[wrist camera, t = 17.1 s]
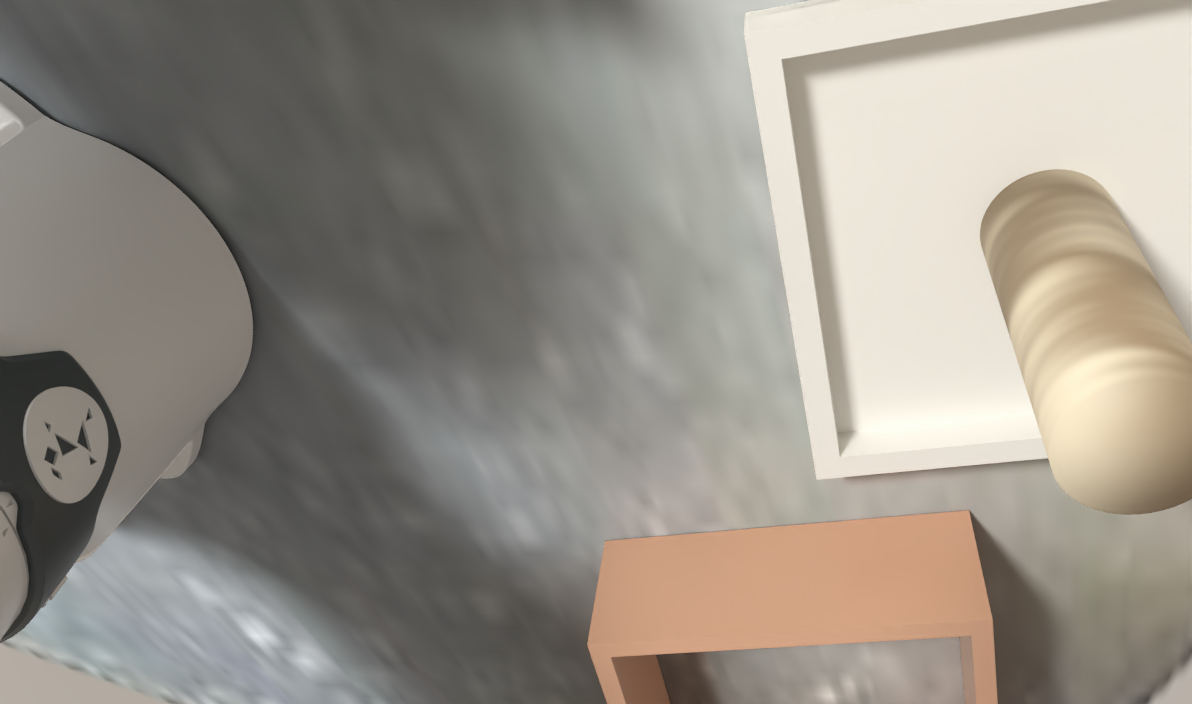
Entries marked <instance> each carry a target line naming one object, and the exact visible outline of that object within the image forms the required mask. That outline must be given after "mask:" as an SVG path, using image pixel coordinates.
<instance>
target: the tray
mask: <svg viewBox="0 0 1192 704" xmlns="http://www.w3.org/2000/svg"><path fill="white" fill-rule="evenodd" d="M744 37H745V43H746V49H747V55H748V61H749V68H750V74H751V80H752V86H753V92H754V98H755V104H756V110H757V117H758V123H759V129H760V135H761V141H762V147H763V153H764V159H765V166H766V172H767V178H768V184H769V190H770V196H771V202H772V209H773V215H774V221H775V227H776V233H777V239H778V245H779V251H780V258H781V264H782V270H783V276H784V282H785V288H786V294H787V300H788V307H789V313H790V319H791V325H792V331H793V337H794V343H795V349H796V356H797V362H798V368H799V374H800V380H801V386H802V392H803V398H804V405H805V411H806V417H807V423H808V429H809V435H810V441H811V447H812V454H813V460H814V466H815V472H816V478H817V480H818V479H829V478H839V477H850V476H861V475H872V474H883V473H893V472H904V471H915V470H926V469H936V468H947V467H958V466H969V465H980V464H990V463H1001V462H1012V461H1023V460H1034V459H1044V458H1048V456H1047V453H1046V450H1045V447H1044V443H1043V440H1042V437H1041V434H1040V431H1039V428H1038V424H1037V421H1036V418H1035V415H1034V412H1033V409H1032V405H1031V402H1030V399H1029V396H1028V393H1027V390H1026V386H1025V383H1024V380H1023V377H1022V374H1021V371H1020V367H1019V364H1018V361H1017V358H1016V355H1015V352H1014V348H1013V345H1012V342H1011V339H1010V336H1009V333H1008V329H1007V326H1006V323H1005V320H1004V317H1003V314H1002V310H1001V307H1000V304H999V301H998V298H997V295H996V291H995V288H994V285H993V282H992V279H991V276H990V272H989V269H988V266H987V263H986V260H985V257H984V253H983V250H982V247H981V242H980V228H981V222H982V219H983V216H984V214H985V212H986V210H987V208H988V206H989V205H990V203H991V202H992V201H993V199H994V198H995V197H996V196H997V195H998V194H999V193H1000V192H1001V191H1002V190H1003V189H1004V188H1006V187H1007V186H1008V185H1010V184H1011V183H1013V182H1014V181H1016V180H1018V179H1020V178H1022V177H1024V176H1027V175H1029V174H1032V173H1035V172H1039V171H1044V170H1053V169H1063V170H1071V171H1076V172H1079V173H1082V174H1085V175H1087V176H1089V177H1091V178H1093V179H1094V180H1096V181H1097V182H1099V183H1100V184H1101V185H1102V186H1103V187H1104V188H1105V189H1106V190H1107V192H1108V193H1109V195H1110V196H1111V198H1112V200H1113V202H1114V204H1115V205H1116V207H1117V209H1118V211H1119V213H1120V214H1121V216H1122V218H1123V220H1124V222H1125V223H1126V225H1127V227H1128V229H1129V231H1130V232H1131V234H1132V236H1133V238H1134V240H1135V242H1136V243H1137V245H1138V247H1139V249H1140V251H1141V252H1142V254H1143V256H1144V258H1145V260H1146V261H1147V263H1148V265H1149V267H1150V269H1151V270H1152V272H1153V274H1154V276H1155V278H1156V280H1157V281H1158V283H1159V285H1160V287H1161V289H1162V290H1163V292H1164V294H1165V296H1166V298H1167V299H1168V301H1169V303H1170V305H1171V307H1172V308H1173V310H1174V312H1175V314H1176V316H1177V317H1178V319H1179V321H1180V323H1181V325H1182V327H1183V328H1184V330H1185V332H1186V334H1187V336H1188V337H1189V339H1190V341H1191V343H1192V0H810V1H804V2H799V3H794V4H789V5H783V6H778V7H773V8H768V9H762V10H757V11H752V12H747V13H745V26H744Z"/></svg>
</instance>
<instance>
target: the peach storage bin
mask: <svg viewBox="0 0 1192 704" xmlns="http://www.w3.org/2000/svg"><path fill="white" fill-rule="evenodd" d="M944 637H959V638H960V650H961V662H962V674H963V686H964V698H965V704H998V700H997V683H996V667H995V650H994V633H993V619H992V614H991V610H990V605H989V600H988V596H987V591H986V587H985V582H984V577H983V573H982V568H981V563H980V559H979V554H978V550H977V545H976V540H975V536H974V531H973V526H972V522H971V517H970V513H969V510H968V511H956V512H944V513H932V514H920V515H908V516H896V517H884V518H872V519H860V520H848V521H836V522H824V523H812V524H801V525H789V526H777V527H765V528H753V529H741V530H729V531H717V532H705V533H693V534H681V535H669V536H657V537H646V538H634V539H622V540H610V541H605V543H604V549H603V555H602V561H601V567H600V573H599V578H598V584H597V590H596V596H595V602H594V608H593V614H592V619H591V625H590V631H589V637H588V643H587V646H588V649H589V652H590V655H591V658H592V661H593V664H594V667H595V670H596V672H597V675H598V678H599V681H600V684H601V687H602V690H603V693H604V696H605V699H606V702H607V704H671V703H670V700H669V696H668V693H667V690H666V686H665V683H664V679H663V676H662V673H661V669H660V666H659V662H658V659H657V656H656V654H673V653H690V652H707V651H724V650H741V649H758V648H775V647H792V646H809V645H826V644H843V643H859V642H876V641H893V640H910V639H927V638H944Z"/></svg>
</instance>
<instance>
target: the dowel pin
mask: <svg viewBox="0 0 1192 704" xmlns="http://www.w3.org/2000/svg"><path fill="white" fill-rule="evenodd" d="M980 242H981V247H982V250H983V253H984V257H985V260H986V263H987V266H988V269H989V272H990V276H991V279H992V282H993V285H994V288H995V291H996V295H997V298H998V301H999V304H1000V307H1001V310H1002V314H1003V317H1004V320H1005V323H1006V326H1007V329H1008V333H1009V336H1010V339H1011V342H1012V345H1013V348H1014V352H1015V355H1016V358H1017V361H1018V364H1019V367H1020V371H1021V374H1022V377H1023V380H1024V383H1025V386H1026V390H1027V393H1028V396H1029V399H1030V402H1031V405H1032V409H1033V412H1034V415H1035V418H1036V421H1037V424H1038V428H1039V431H1040V434H1041V437H1042V440H1043V443H1044V447H1045V450H1046V453H1047V456H1048V459H1049V462H1050V466H1051V469H1052V472H1053V475H1054V477H1055V479H1056V481H1057V483H1058V484H1059V485H1060V487H1061V488H1062V489H1063V490H1064V491H1065V492H1066V493H1067V494H1068V495H1069V496H1070V497H1072V498H1073V499H1075V500H1076V501H1078V502H1079V503H1081V504H1083V505H1085V506H1087V507H1090V508H1093V509H1095V510H1099V511H1103V512H1107V513H1114V514H1127V515H1129V514H1145V513H1152V512H1157V511H1161V510H1165V509H1168V508H1171V507H1175V506H1177V505H1179V504H1182V503H1184V502H1186V501H1188V500H1190V499H1192V343H1191V341H1190V339H1189V337H1188V336H1187V334H1186V332H1185V330H1184V328H1183V327H1182V325H1181V323H1180V321H1179V319H1178V317H1177V316H1176V314H1175V312H1174V310H1173V308H1172V307H1171V305H1170V303H1169V301H1168V299H1167V298H1166V296H1165V294H1164V292H1163V290H1162V289H1161V287H1160V285H1159V283H1158V281H1157V280H1156V278H1155V276H1154V274H1153V272H1152V270H1151V269H1150V267H1149V265H1148V263H1147V261H1146V260H1145V258H1144V256H1143V254H1142V252H1141V251H1140V249H1139V247H1138V245H1137V243H1136V242H1135V240H1134V238H1133V236H1132V234H1131V232H1130V231H1129V229H1128V227H1127V225H1126V223H1125V222H1124V220H1123V218H1122V216H1121V214H1120V213H1119V211H1118V209H1117V207H1116V205H1115V204H1114V202H1113V200H1112V198H1111V196H1110V195H1109V193H1108V192H1107V190H1106V189H1105V188H1104V187H1103V186H1102V185H1101V184H1100V183H1099V182H1097V181H1096V180H1094V179H1093V178H1091V177H1089V176H1087V175H1085V174H1082V173H1079V172H1076V171H1071V170H1063V169H1053V170H1044V171H1039V172H1035V173H1032V174H1029V175H1027V176H1024V177H1022V178H1020V179H1018V180H1016V181H1014V182H1013V183H1011V184H1010V185H1008V186H1007V187H1006V188H1004V189H1003V190H1002V191H1001V192H1000V193H999V194H998V195H997V196H996V197H995V198H994V199H993V201H992V202H991V203H990V205H989V206H988V208H987V210H986V212H985V214H984V216H983V219H982V222H981V228H980Z"/></svg>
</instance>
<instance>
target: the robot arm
mask: <svg viewBox="0 0 1192 704" xmlns="http://www.w3.org/2000/svg"><path fill="white" fill-rule="evenodd" d="M252 341H253V318H252V310H251V304H250V299H249V296H248V292H247V288H246V285H245V283H244V280H243V277H242V275H241V272H240V270H239V267H238V265H237V263H236V261H235V259H234V257H233V255H232V254H231V252H230V250H229V248H228V247H227V245H226V243H225V242H224V240H223V239H222V237H221V236H220V234H219V233H218V231H217V230H216V229H215V228H214V226H213V225H212V224H211V222H210V221H209V220H208V219H207V217H206V216H205V215H204V214H203V213H202V211H201V210H200V209H199V208H198V207H197V206H196V205H195V204H194V203H193V202H192V201H191V200H190V199H189V198H188V197H187V196H186V195H185V194H184V193H183V192H182V191H181V190H180V189H178V188H177V187H176V186H175V185H174V184H172V183H171V182H170V181H169V180H168V179H166V178H165V177H164V176H162V175H161V174H160V173H159V172H157V171H156V170H154V169H153V168H151V167H150V166H148V165H147V164H145V163H144V162H142V161H141V160H139V159H137V158H136V157H134V156H132V155H131V154H129V153H127V152H125V151H123V150H121V149H119V148H117V147H115V146H113V145H111V144H109V143H107V142H104V141H102V140H100V139H97V138H95V137H92V136H89V135H87V134H84V133H82V132H79V131H76V130H74V129H71V128H69V127H66V126H64V125H62V124H60V123H57V122H55V121H54V120H52V119H50V118H48V117H46V116H44V115H43V114H42V113H41V112H39V111H38V110H37V109H36V108H35V107H33V106H32V105H31V104H30V103H28V102H27V101H26V100H24V99H23V98H22V97H21V96H19V95H18V94H17V93H16V92H14V91H13V90H12V89H10V88H9V87H8V86H6V85H5V84H3V83H2V82H1V81H0V643H1V642H3V641H5V640H7V639H9V638H11V637H13V636H14V635H15V634H17V633H18V632H19V631H21V630H22V629H23V628H24V627H25V626H26V625H27V624H28V623H29V622H30V621H31V620H32V619H33V617H34V616H35V615H36V614H37V612H38V611H39V610H40V608H41V607H42V608H43V607H44V606H45V605H46V602H47V601H48V600H49V599H50V600H51V599H52V598H53V597H54V596H55V594H56V593H57V592H58V590H59V589H60V588H61V586H62V585H63V584H64V582H65V581H66V580H67V577H66V574H67V573H68V572H69V570H70V569H71V567H72V566H73V565H74V563H75V562H80V561H82V560H84V559H86V558H88V557H89V556H91V555H92V554H93V553H94V552H95V551H96V550H97V549H98V548H99V547H100V545H101V544H102V543H103V542H104V541H105V540H106V539H107V538H108V537H109V535H110V534H111V533H112V532H113V531H114V530H115V529H116V527H117V526H118V525H119V524H120V523H121V522H122V521H123V520H124V518H125V517H126V516H127V515H128V514H129V513H130V512H131V510H132V509H133V508H134V507H135V506H136V505H137V504H138V502H139V501H140V500H141V499H142V498H143V497H144V495H145V494H146V493H147V492H148V491H149V490H150V488H151V487H152V486H153V485H154V484H155V483H156V481H157V480H158V479H159V478H162V479H171V478H176V477H178V476H180V475H182V474H183V473H184V472H185V471H186V470H187V468H188V467H189V466H190V465H191V464H192V463H193V462H194V460H195V459H196V458H197V455H198V453H199V450H200V447H201V443H202V438H203V433H204V427H205V422H206V421H207V419H208V418H209V416H210V415H211V414H212V412H213V411H214V410H215V409H216V408H217V407H218V406H219V405H220V404H221V403H222V402H223V401H224V400H225V399H226V398H227V397H228V396H229V395H230V394H231V393H232V391H233V390H234V389H235V387H236V386H237V384H238V383H239V381H240V380H241V378H242V376H243V374H244V372H245V369H246V367H247V364H248V361H249V357H250V354H251V348H252Z"/></svg>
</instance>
